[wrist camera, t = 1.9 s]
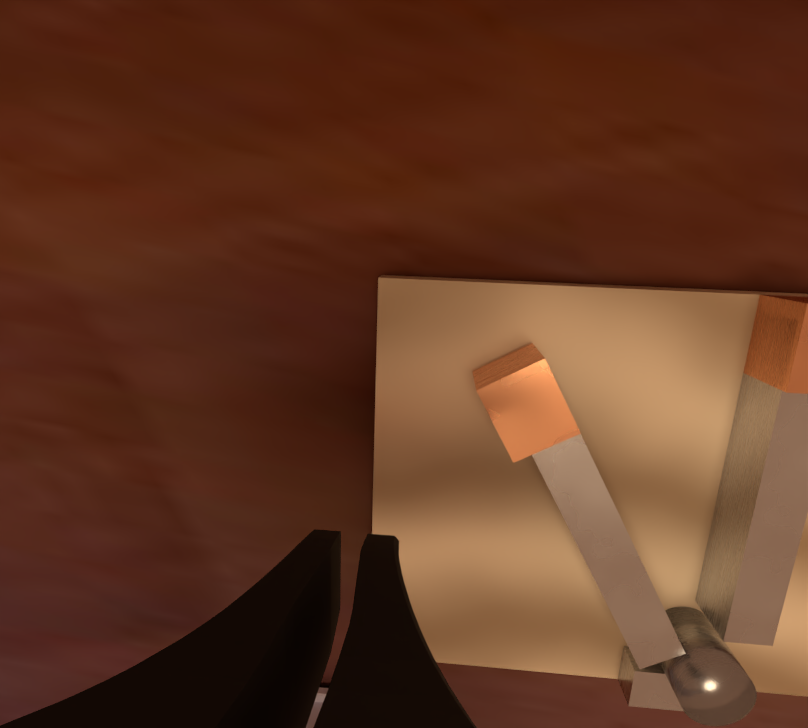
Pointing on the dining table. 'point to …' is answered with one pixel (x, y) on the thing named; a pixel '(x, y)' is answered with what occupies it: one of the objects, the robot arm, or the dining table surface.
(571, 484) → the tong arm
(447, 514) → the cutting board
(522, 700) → the dining table surface
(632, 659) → the tongs fixed
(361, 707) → the robot arm
